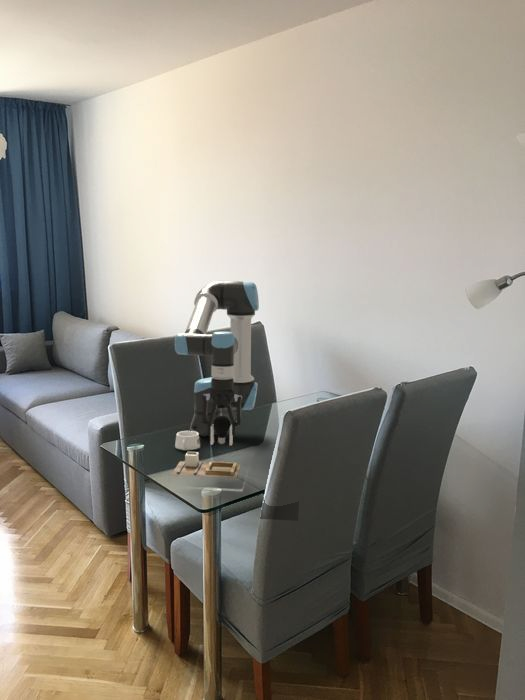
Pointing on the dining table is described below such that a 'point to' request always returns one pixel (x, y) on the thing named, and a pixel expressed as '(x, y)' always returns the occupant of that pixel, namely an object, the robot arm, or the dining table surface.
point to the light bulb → (221, 428)
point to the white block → (192, 459)
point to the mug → (187, 440)
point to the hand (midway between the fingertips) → (221, 443)
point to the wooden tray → (208, 469)
